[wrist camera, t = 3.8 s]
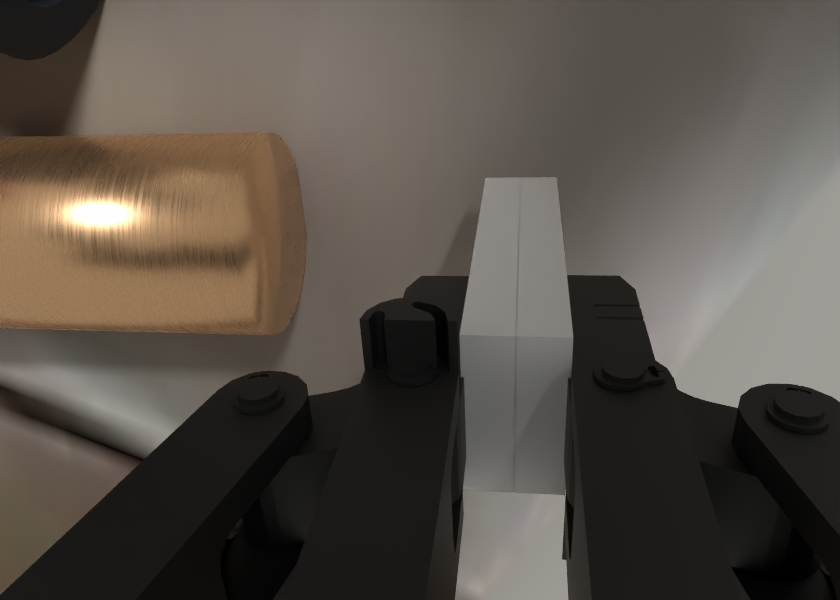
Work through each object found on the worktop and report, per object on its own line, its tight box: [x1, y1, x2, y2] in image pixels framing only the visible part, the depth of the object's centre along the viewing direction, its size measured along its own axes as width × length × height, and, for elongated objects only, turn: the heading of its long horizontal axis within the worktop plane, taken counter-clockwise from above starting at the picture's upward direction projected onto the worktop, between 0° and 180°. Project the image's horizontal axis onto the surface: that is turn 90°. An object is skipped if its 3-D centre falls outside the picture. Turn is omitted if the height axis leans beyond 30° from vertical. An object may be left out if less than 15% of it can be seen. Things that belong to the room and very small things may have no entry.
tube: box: [0, 133, 306, 335], centre depth 17 cm, size 12×4×4 cm, turn 93°
